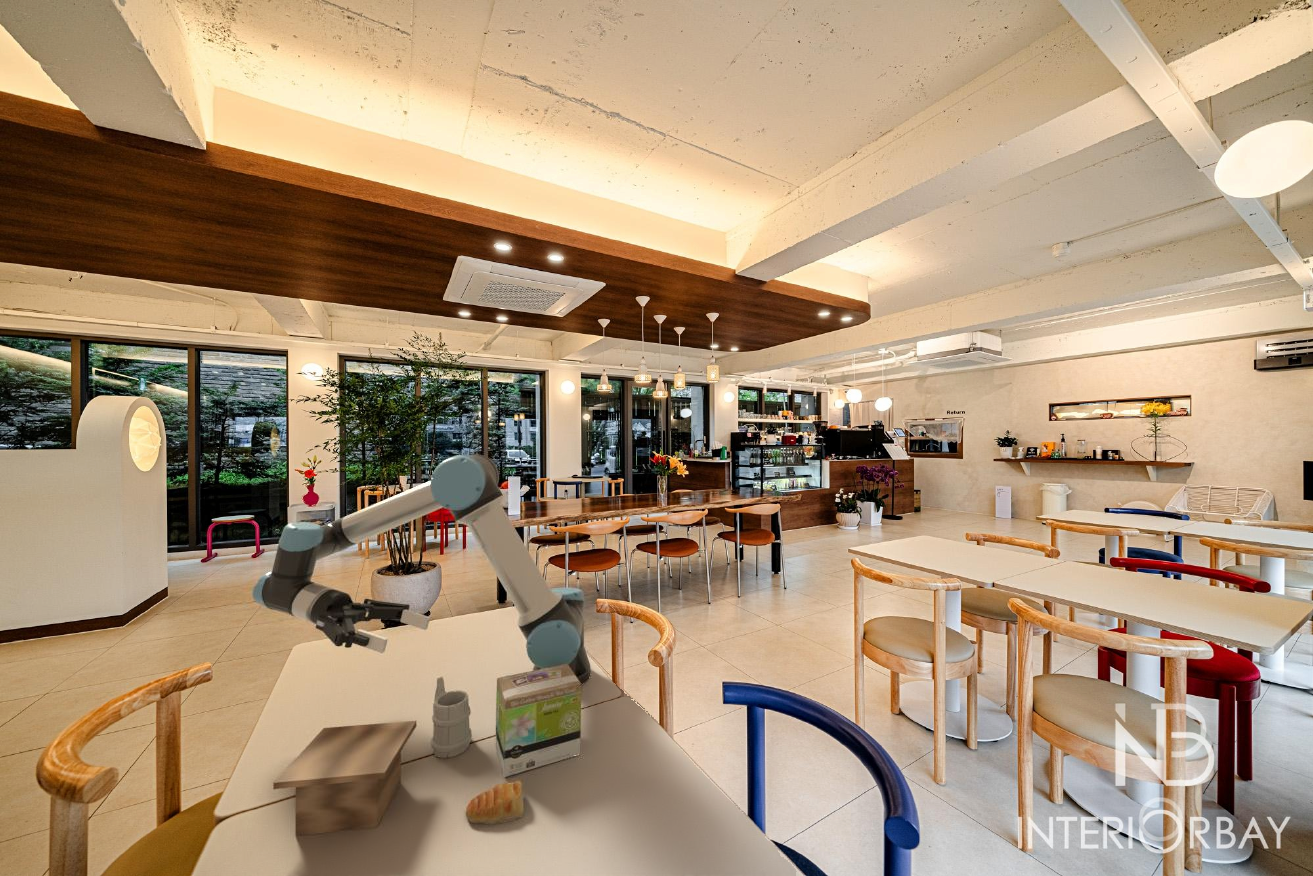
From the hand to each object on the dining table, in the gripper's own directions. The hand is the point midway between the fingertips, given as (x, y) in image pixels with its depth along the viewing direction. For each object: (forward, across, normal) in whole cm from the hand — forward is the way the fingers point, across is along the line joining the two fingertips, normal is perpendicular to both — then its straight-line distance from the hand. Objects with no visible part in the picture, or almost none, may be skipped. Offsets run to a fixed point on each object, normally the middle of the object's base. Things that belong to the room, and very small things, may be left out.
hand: (407, 634), depth 101 cm
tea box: (+34, 0, -14) cm, 37 cm away
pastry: (+34, +15, -15) cm, 40 cm away
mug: (+15, 0, -19) cm, 24 cm away
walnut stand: (+9, +18, -21) cm, 29 cm away
